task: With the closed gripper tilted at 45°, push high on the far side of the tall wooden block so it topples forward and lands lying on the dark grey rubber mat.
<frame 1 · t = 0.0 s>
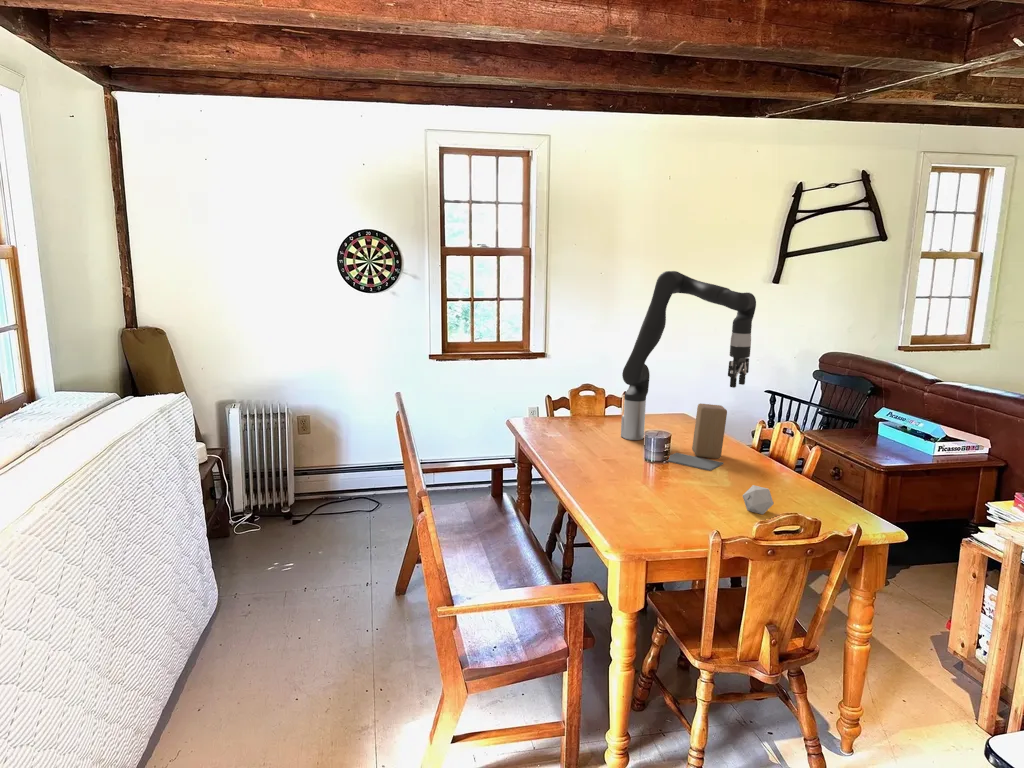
hand: (737, 385, 265), 29 cm above the table, tool pointing down, fingers open, 8 cm apart
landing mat: (692, 462, 264), on the table
wooden block: (705, 455, 273), on the table
die: (756, 511, 213), on the table
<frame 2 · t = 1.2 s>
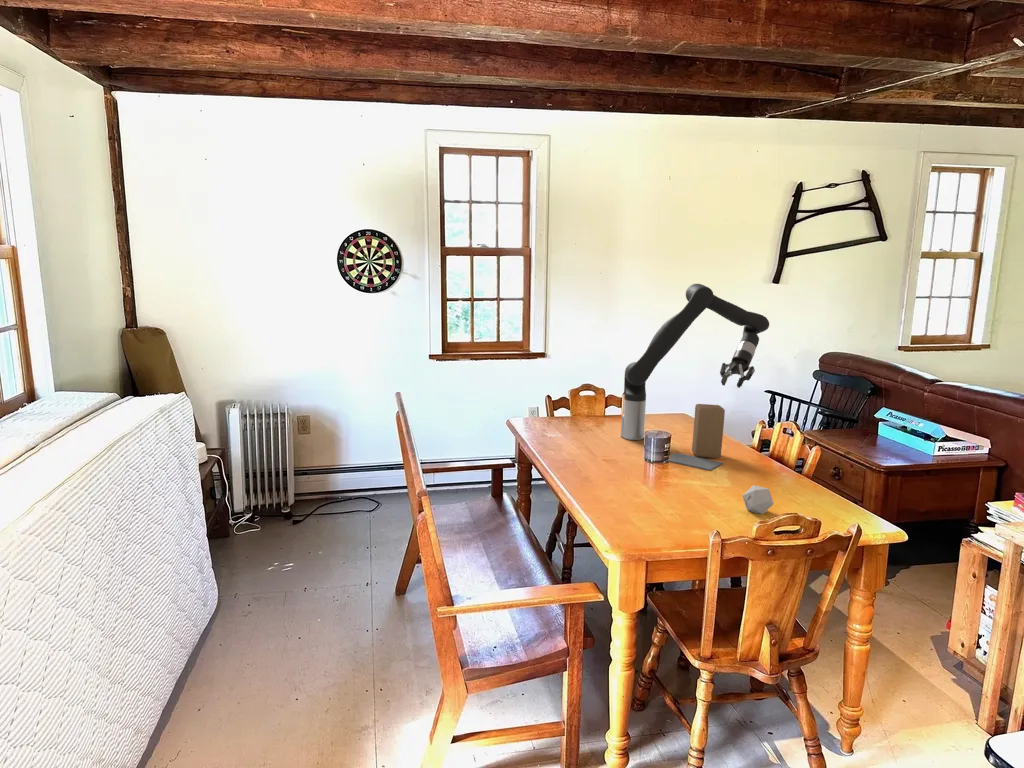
hand: (730, 385, 283), 26 cm above the table, tool tilted 45°, fingers open, 6 cm apart
wooden block: (705, 455, 273), on the table, touching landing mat
everything else where it was.
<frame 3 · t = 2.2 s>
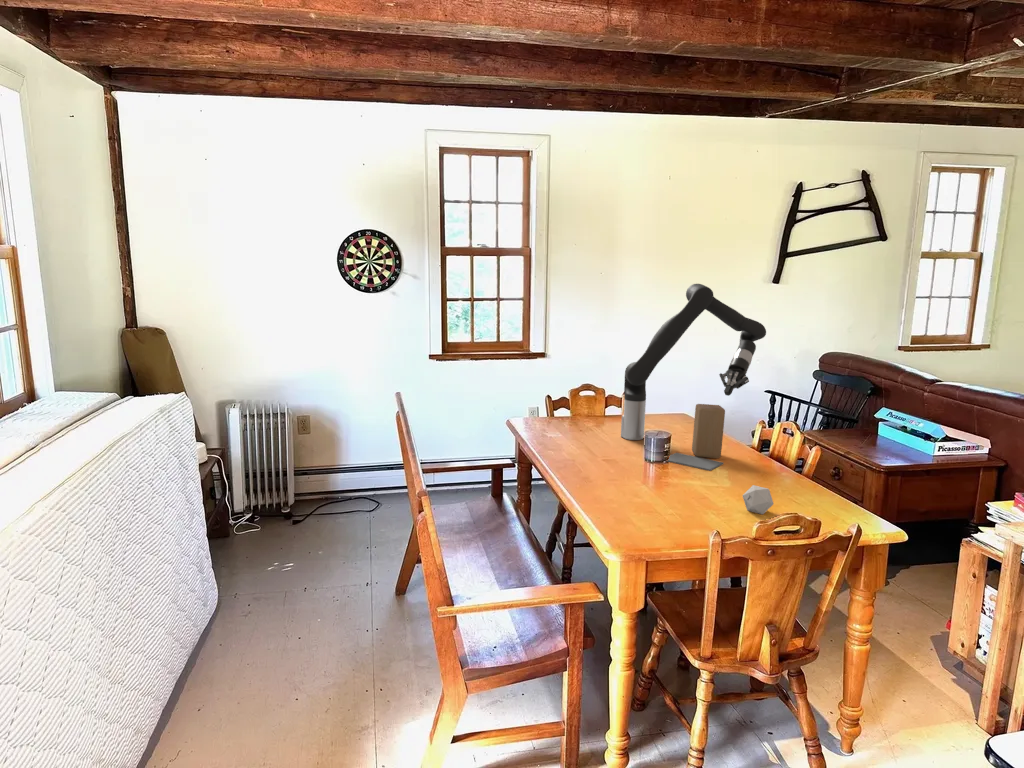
hand: (726, 394, 281), 23 cm above the table, tool tilted 45°, fingers closed
nothing on the table moved.
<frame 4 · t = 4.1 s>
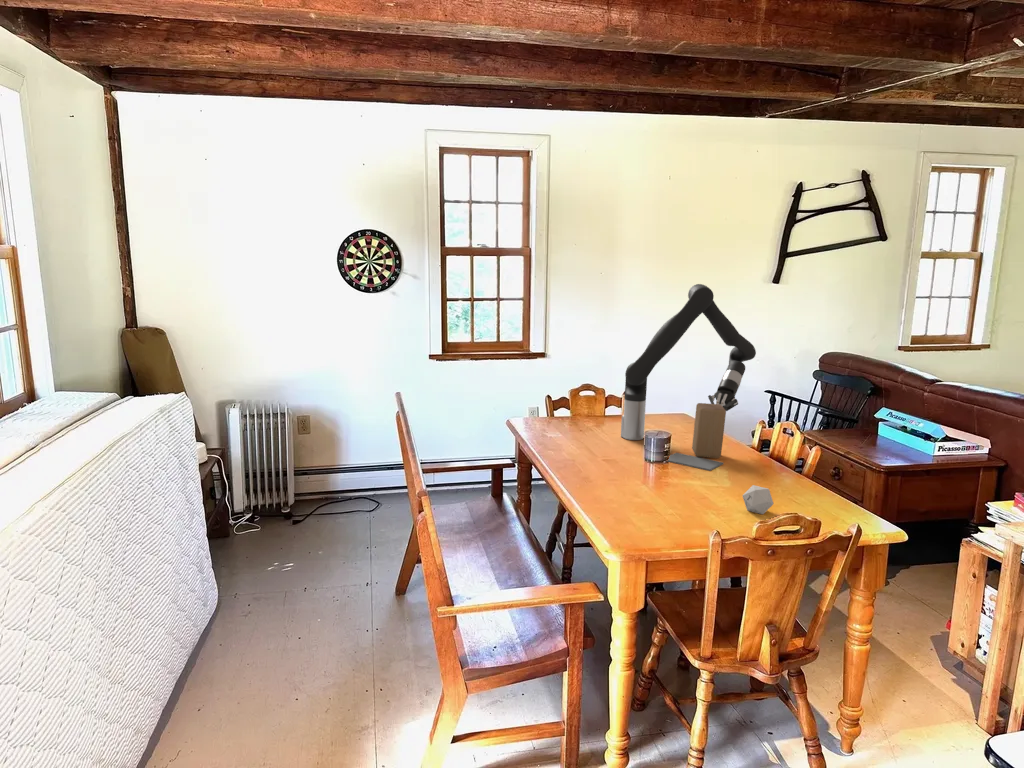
hand: (715, 417, 275), 15 cm above the table, tool tilted 45°, fingers closed
wooden block: (705, 454, 273), on the table, touching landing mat
everything else where it was.
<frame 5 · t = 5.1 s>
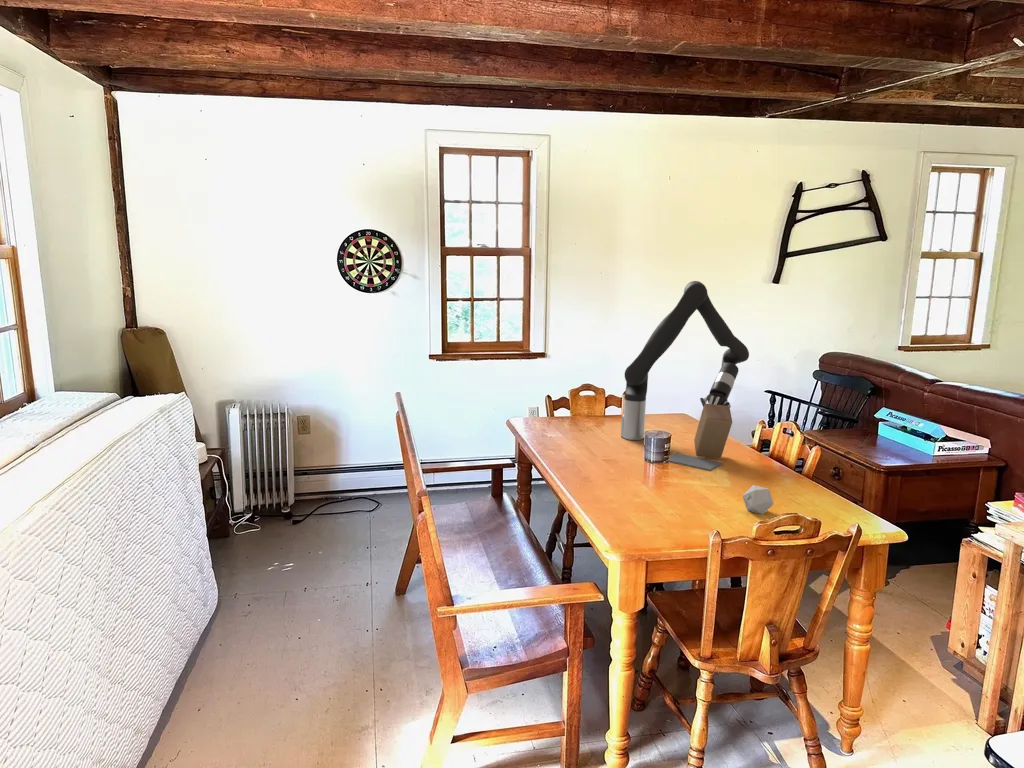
hand: (707, 420, 270), 15 cm above the table, tool tilted 45°, fingers closed
wooden block: (707, 450, 272), point 2 cm above the table, touching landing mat
everything else where it was.
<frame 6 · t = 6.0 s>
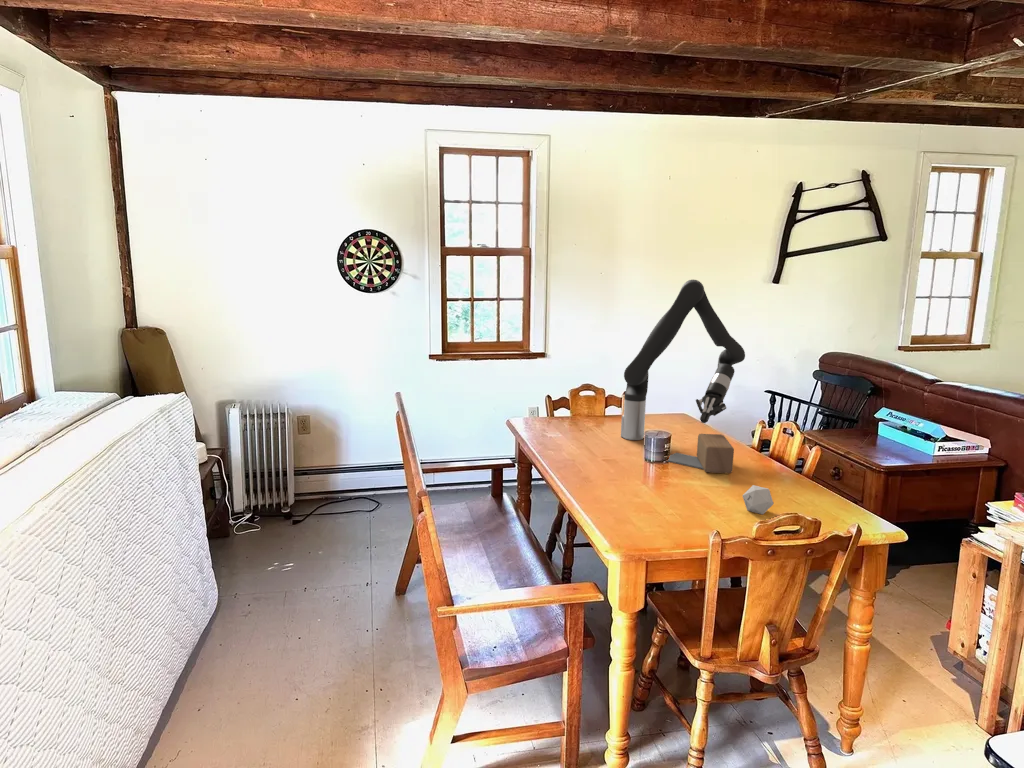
hand: (702, 421, 267), 15 cm above the table, tool tilted 45°, fingers closed
wooden block: (709, 445, 267), point 6 cm above the table, touching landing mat
everything else where it was.
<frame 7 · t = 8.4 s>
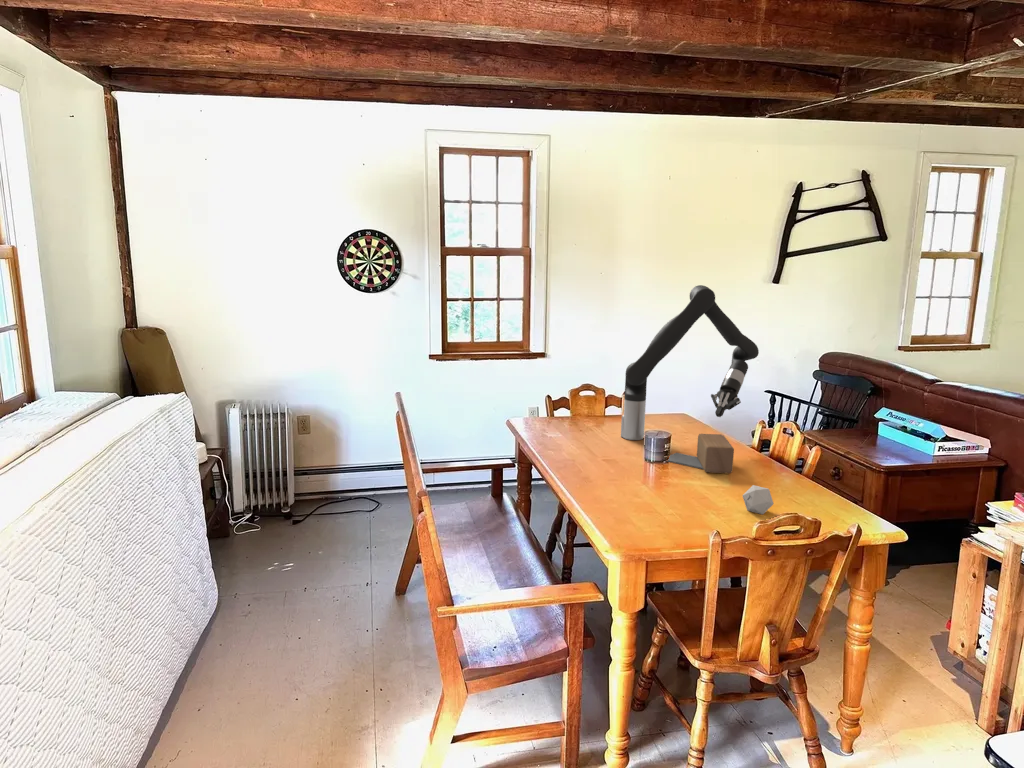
hand: (718, 415, 277), 15 cm above the table, tool tilted 45°, fingers closed
nothing on the table moved.
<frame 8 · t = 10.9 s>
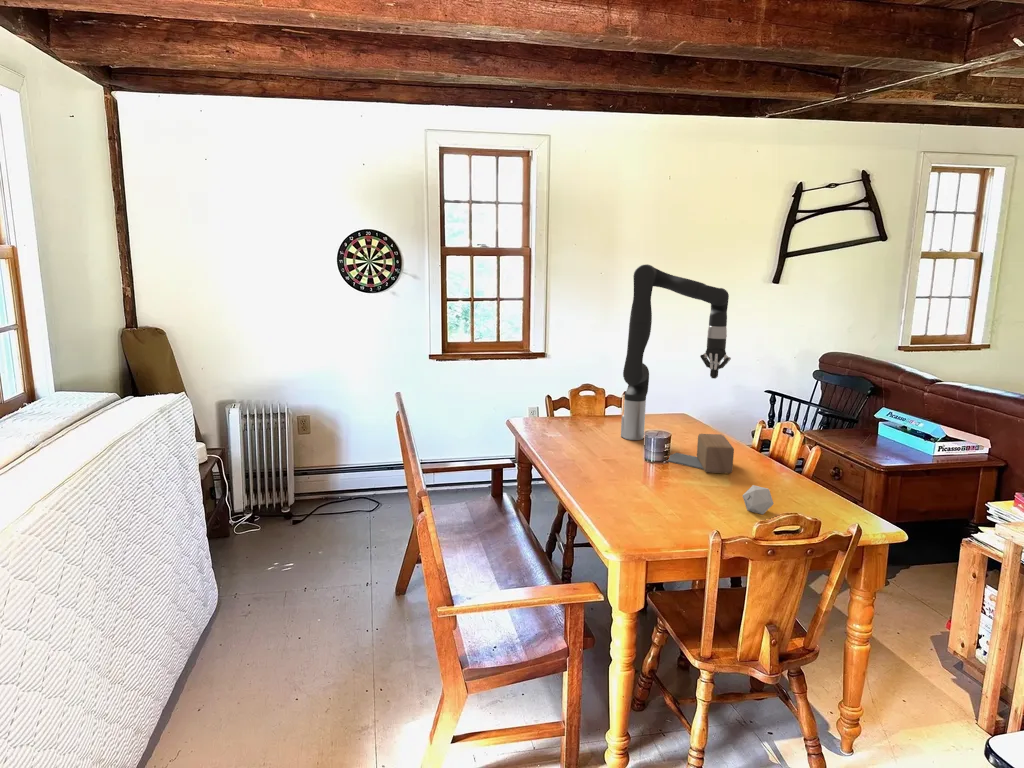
hand: (713, 378, 284), 29 cm above the table, tool pointing down, fingers closed
nothing on the table moved.
at the end: wooden block tilted 90°; wooden block touching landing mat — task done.
